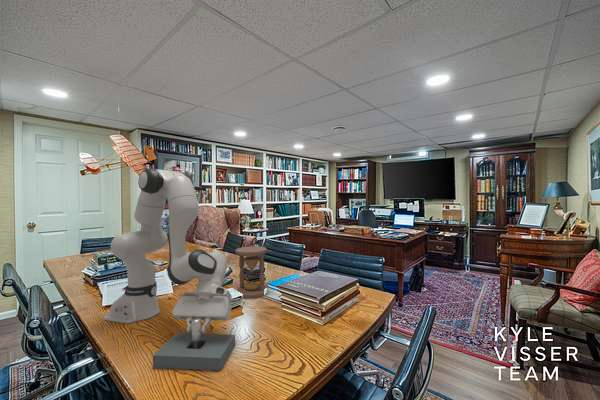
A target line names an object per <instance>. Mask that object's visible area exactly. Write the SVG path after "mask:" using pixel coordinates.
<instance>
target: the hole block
mask: <svg viewBox="0 0 600 400" xmlns="http://www.w3.org/2000/svg"><path fill="white" fill-rule="evenodd" d="M235 347H236V334H223V333H222V334H221V333H219V334H218V333H201V349H192V333H188V332H176V333H175V334H173V336H172V337H171V338H170V339H169V340H168V341H167V342H165V343H164V345H162V346H161V347H160V348H159V349H158V350H157V351H156V352H154V354H152V368H153V369H165V370H169V369H170V370H186V369H197V370H196V371H209V370H217V371H218V372H221V371H222V369H223V367H224V366H225V364H226V362H227V361H228V359H229V357H230V355H231V354H232V352H233V350H234V349H235Z"/></svg>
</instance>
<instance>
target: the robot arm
mask: <svg viewBox="0 0 600 400" xmlns="http://www.w3.org/2000/svg"><path fill="white" fill-rule="evenodd" d="M137 183H138V186H139V189H140V193H139V196H138V200H137V202H136V207H135V210H134V214H133V217H134V220H135V221H136V222H137V223H138V224H140V230H138V231H137V230H136V231H129V232H125V233H122V234H119V235H117V236H115V237H113V238H112V240H111V243H110V250H111V253H112V254H113V255H114V256H115V257H117V258H118V259H120V260H121V261H122V262H123V264H124V265H125V268H126V272H127V273H126V274H127V284H126V286H124V287H122V288H121V289H122V291H123V292H124V293H123V294H122V295H121V296H120V297H119V298H117V299H116V300H115V301H113V302H112V304H111V306H110V309H109V312H108V313H106V314H105V315H104V316H103V320H104V321H109V322H115V323H121V324H127V325H129V324H131V323H135V322H139V321H143V320H147V319H150V318H152V317H154V316H156V315H157V314H159V313H160V311H161V309H160V307H159V303H158V299H157V298H158V297H157V289H158V288H157V287H158V286H157V280H156V265H155V264H154V263H152V262H150V261H148V260H147V257H146V254H149V253H153V252H157V251H160V250H162V249H163V248H165V247H167V245H168V252H169V262H168V266H167V270H166V271H167V273H166V274H167V276H168V278H169V280H170V281H171V282H172V283H173V284H175V285H177V286H179V285H180V286H181V285H182V286H183V285H186V284H188V283H189V282H190V281H192V280H194V279H198V283H197V285H196V286H197V287H196V289H195V292H184V293H183V294H181V295H180V296H179V297H178V299H177V302H176V304H175V305H174V308H173V310H172V312H171V314H172V315H171V316H172V317H173V318H174V319H176V320H186V324H187V329H186V333H192V319H194V318H201V321H205V322H204V324H203V325H201V327H200V330H199V332H200V333H201V334H206V330H207V328H208V327H209V326H210V325H211V324H212V321H225V322H227V321H229V320H230V318H231V314H232V313H231V312H232V302H231V301H232V299H233V297H232V294H231V293H230V291H229V290H228V289H227V288H225V287H223V281H224V279H225V277H226V273H227V268H228V259H227V257H226V255H225V254H223V253H222V252H219V251H212V252H210V251H209V252H208V251H205V250H203V249H197V248H196V249H194V250H192V251H190V252H187V244H186V236H187V233H188V231H189V228H190V227H191V225H192V224H193V223H194V222H195V220H196V219H197V217H198V215H199V213H200V209H199V208H200V205H199V199H198V196H197V192H196V189H195V187H194V180H193V178H192V176H190V175H189V174H186V173H184V172H178V171H176V170H175V171H174V170H170V169H157V168H155V167H154V168H153V167H151V168H145V169H143V170H142V171H141V172H140V173H139V176H138V180H137ZM166 202H167V205H168V206H167V207H168V214H169V215H168V218H169V219H168V229H167V230H168V231H167V232H168V233H166V232H165V231H164V229H163V227H162V220H163V219H162V218H163V216H164V215H163V214H164V211H165V207H166Z"/></svg>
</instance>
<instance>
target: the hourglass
mask: <svg viewBox="0 0 600 400" xmlns="http://www.w3.org/2000/svg"><path fill="white" fill-rule="evenodd" d="M267 253H268V249H267V247H265V246H259V245H258V246H257V245H256V246H255V245H253V246H251V245H250V246H242V247H238V248H236V249H235V255H237V256H238V257H239V260H238V267H239V269H240V270H239V273H238V276H239V287H237V288H236V290H237V291H238V292H240V293H242V294H243V298H242V299H248V300H250V299H256V298H257V299H258V298H262V297H264V296H265V295H264V289H265V288H266V287H267V286H266V285H265V279H266V278H265V277H266V276H265V274H264V271H265V260H264V259H265V254H267ZM245 265H246V266H247V267H248V269H249V270H250V273H253V272H254V269H255V268H256V266H257V265H258V268H259V271H260V272H259V277H258V279H259V282H257V281H252V280H251V281H249V282H246V283H245V272H244V267H245ZM263 295H264V296H263ZM261 296H262V297H261Z"/></svg>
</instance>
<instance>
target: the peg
mask: <svg viewBox="0 0 600 400" xmlns="http://www.w3.org/2000/svg"><path fill="white" fill-rule="evenodd" d="M191 325H192V349H201V334H202V333H200V332H199V330H200V327H201V326H202V320H201V318H194V319H192V323H191Z"/></svg>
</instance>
